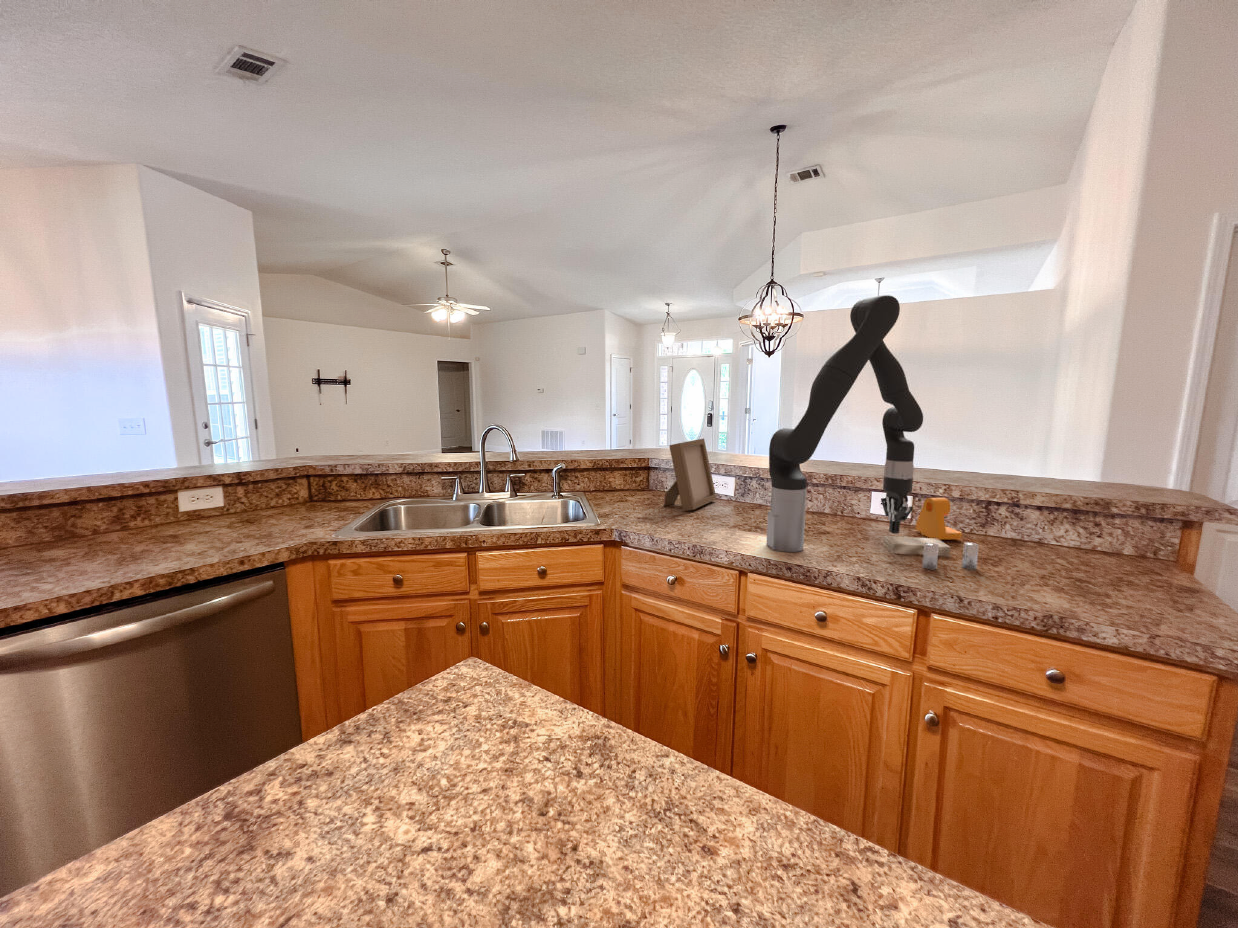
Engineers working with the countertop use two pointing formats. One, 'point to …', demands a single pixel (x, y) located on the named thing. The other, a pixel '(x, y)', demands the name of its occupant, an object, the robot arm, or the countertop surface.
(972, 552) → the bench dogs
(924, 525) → the bracket
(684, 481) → the photo frame
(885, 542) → the cream curved panel
